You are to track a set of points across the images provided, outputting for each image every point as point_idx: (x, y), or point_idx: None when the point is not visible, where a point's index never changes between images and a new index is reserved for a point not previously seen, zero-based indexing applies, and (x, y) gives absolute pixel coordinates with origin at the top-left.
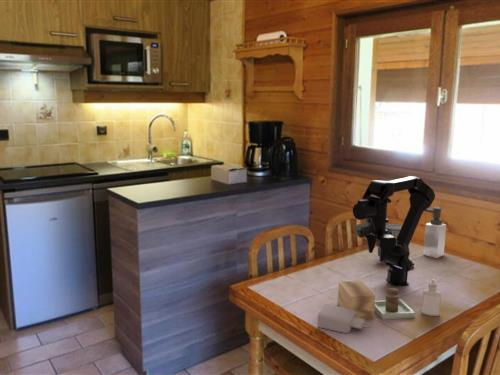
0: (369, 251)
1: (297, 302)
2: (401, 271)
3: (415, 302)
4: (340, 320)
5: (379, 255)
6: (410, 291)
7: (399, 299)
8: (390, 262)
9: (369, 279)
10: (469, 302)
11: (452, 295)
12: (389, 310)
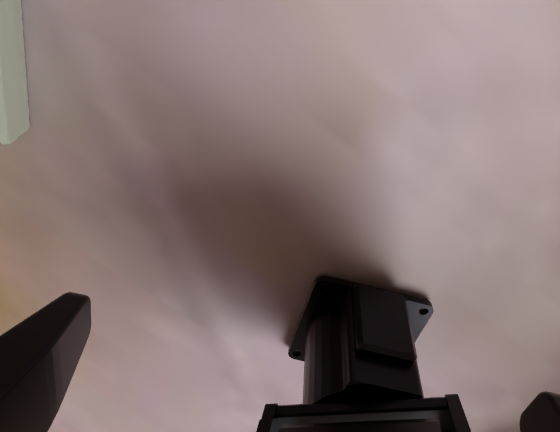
0: (557, 412)
1: None
2: (306, 400)
3: (48, 229)
4: None
5: (7, 378)
6: (208, 303)
7: (5, 133)
8: (371, 426)
9: (513, 209)
10: None
11: (109, 415)
12: None
